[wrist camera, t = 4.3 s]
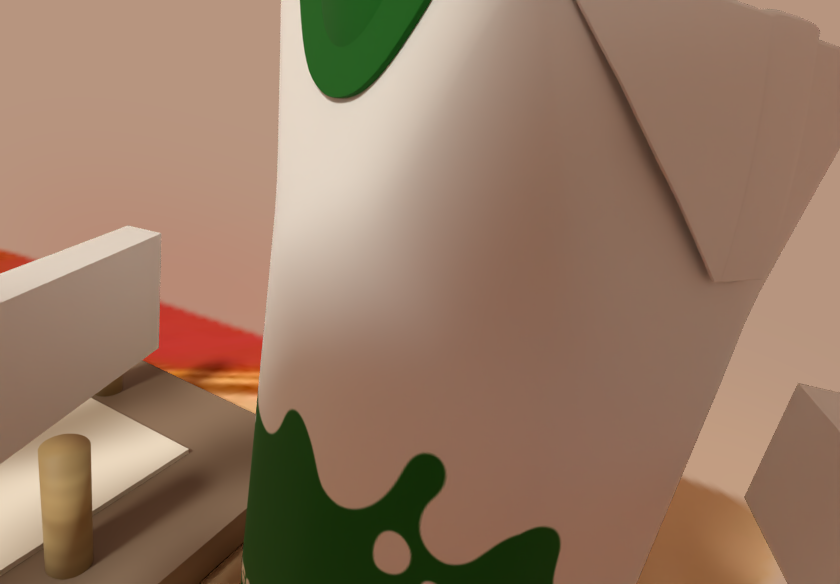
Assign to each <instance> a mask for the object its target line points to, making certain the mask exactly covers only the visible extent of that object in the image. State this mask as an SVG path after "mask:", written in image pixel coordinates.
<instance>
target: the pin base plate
mask: <svg viewBox="0 0 840 584" xmlns="http://www.w3.org/2000/svg"><path fill="white" fill-rule="evenodd" d="M255 418H256V414H254V413H252V412H250V411H247V410H245V409H243V408H241V407H239V406H237V405H235V404H233V403H231V402H228V401H226V400H224V399H222V398H220V397H218V396H216V395H214V394H212V393H210V392H207V391H205V390H203V389H201V388H199V387H197V386H195V385H193V384H191V383H189V382H186V381H184V380H182V379H180V378H178V377H176V376H174V375H172V374H170V373H168V372H165V371H163V370H161V369H159V368H157V367H155V366H153V365H151V364H149V363H147V362H144V361H142V360H141V361H140V362H139V363H137V364H136V365H135V366H133V367H132V368H130V369H129V370H128V371H126V372H125V373H124V374H122V375H121V376H120V377H118V378H117V379H115V380H114V381H113V382H111V383H110V384H109V385H107V386H106V387H105V388H103V389H102V390H101V391H99V392H98V393H96V394H95V395H94V396H92V397H91V398H90V399H88V400H87V401H86V402H84V403H83V404H81V405H80V406H79V407H77V408H76V409H75V410H73V411H72V412H71V413H69V414H68V415H66V416H65V417H64V418H62V419H61V420H60V421H58V422H57V423H56V424H54V425H53V426H52V427H50V428H49V429H47V430H46V431H45V432H43V433H42V434H41V435H39V436H38V437H37V438H35V439H34V440H32V441H31V442H30V443H28V444H27V445H26V446H24V447H23V448H22V449H20V450H19V451H18V452H16V453H15V454H13V455H12V456H11V457H9V458H8V459H7V460H5V461H4V462H3V463H1V464H0V584H198V583H200V582H201V581H202V580H203V579H204V578H205V577H206V576H207V575H208V574H209V573H210V572H212V571H213V570H214V569H215V568H216V567H217V566H218V565H219V564H220V563H221V562H223V561H224V560H225V559H226V558H227V557H228V556H229V555H230V554H231V553H232V552H233V551H235V550H236V549H237V548H238V547H239V546H240V545H241V544H242V543H243V542H244V533H245V523H246V512H247V501H248V491H249V481H250V470H251V460H252V449H253V439H254V429H255Z"/></svg>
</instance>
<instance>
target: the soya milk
mask: <svg viewBox="0 0 840 584" xmlns="http://www.w3.org/2000/svg"><path fill="white" fill-rule="evenodd" d="M280 31H281V33H280V34H281V35H280V85H279V129H278V166H277V189H276V207H275V218H274V229H273V241H272V251H271V262H270V272H269V283H268V293H267V304H266V314H265V324H264V335H263V345H262V356H261V366H260V377H259V387H258V398H257V408H256V418H255V429H254V439H253V449H252V460H251V470H250V481H249V491H248V501H247V512H246V523H245V533H244V544H243V555H242V571H241V584H637V581H638V579H639V576H640V574H641V572H642V569H643V567H644V565H645V562H646V560H647V557H648V555H649V553H650V550H651V548H652V545H653V543H654V541H655V538H656V536H657V533H658V531H659V529H660V526H661V524H662V522H663V519H664V517H665V514H666V512H667V510H668V507H669V505H670V502H671V500H672V498H673V495H674V493H675V491H676V488H677V486H678V483H679V481H680V479H681V476H682V474H683V472H684V469H685V467H686V464H687V462H688V459H689V457H690V455H691V452H692V450H693V448H694V445H695V443H696V441H697V438H698V435H699V433H700V431H701V428H702V426H703V424H704V421H705V419H706V417H707V414H708V412H709V410H710V407H711V405H712V402H713V400H714V398H715V395H716V393H717V391H718V388H719V386H720V383H721V381H722V378H723V376H724V373H725V371H726V369H727V366H728V363H729V361H730V359H731V356H732V354H733V351H734V349H735V346H736V344H737V341H738V339H739V336H740V334H741V331H742V329H743V326H744V324H745V322H746V320H747V317H748V315H749V313H750V311H751V309H752V307H753V305H754V303H755V301H756V298H757V296H758V294H759V292H760V290H761V288H762V286H763V285H764V283H765V281H766V279H767V278H768V276H769V273H770V272H771V270H772V268H773V267H774V265H775V263H776V261H777V259H778V257H779V256H780V254H781V252H782V250H783V248H784V247H785V245H786V243H787V241H788V240H789V238H790V236H791V234H792V232H793V231H794V229H795V227H796V225H797V223H798V222H799V220H800V218H801V216H802V214H803V213H804V211H805V209H806V207H807V206H808V204H809V202H810V200H811V198H812V197H813V195H814V193H815V191H816V189H817V188H818V186H819V184H820V182H821V180H822V179H823V177H824V175H825V173H826V172H827V170H828V168H829V166H830V165H831V163H832V161H833V159H834V158H835V156H836V154H837V152H838V151H839V149H840V47H839V46H835V45H833V44H830V43H827V42H824V41H822V40H819V34H820V30H819V28H818V27H817V26H816V25H815V24H814V23H812V22H810V21H808V20H805V19H803V18H800V17H798V16H795V15H792V14H789V13H786V12H783V11H780V10H773V9H759V8H756V7H753V6H750V5H748V4H745V3H742V2H740V1H737V0H281V30H280Z"/></svg>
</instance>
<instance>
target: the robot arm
mask: <svg viewBox="0 0 840 584" xmlns="http://www.w3.org/2000/svg"><path fill="white" fill-rule="evenodd" d="M160 268H161V233H158V232H153V231H149V230H145V229H140V228H136V227H132V226H126V227H123V228H120V229H118V230H115V231H112V232H110V233H107V234H105V235H102V236H99V237H97V238H94V239H91V240H88V241H86V242H83V243H81V244H78V245H76V246H73V247H70V248H67V249H65V250H62V251H60V252H57V253H54V254H51V255H49V256H46V257H43V258H41V259H38V260H35V261H33V262H30V263H28V264H25V265H22V266H20V267H17V268H14V269H12V270H9V271H6V272H4V273H1V274H0V464H1V463H3V462H4V461H5V460H7V459H8V458H9V457H11V456H12V455H13V454H15V453H16V452H18V451H19V450H20V449H22V448H23V447H24V446H26V445H27V444H28V443H30V442H31V441H32V440H34V439H35V438H37V437H38V436H39V435H41V434H42V433H43V432H45V431H46V430H47V429H49V428H50V427H52V426H53V425H54V424H56V423H57V422H58V421H60V420H61V419H62V418H64V417H65V416H66V415H68V414H69V413H71V412H72V411H73V410H75V409H76V408H77V407H79V406H80V405H81V404H83V403H84V402H86V401H87V400H88V399H90V398H91V397H92V396H94V395H95V394H96V393H98V392H99V391H101V390H102V389H103V388H105V387H106V386H107V385H109V384H110V383H111V382H113V381H114V380H115V379H117V378H118V377H120V376H121V375H122V374H124V373H125V372H126V371H128V370H129V369H130V368H132V367H133V366H135V365H136V364H137V363H139V362H140V361H141V360H143V359H144V358H145V357H147V356H148V355H149V354H151V353H152V352H154V351H155V350H156V349H158V348H159V310H160ZM745 500H746V502H747V504H748V506H749V508H750V510H751V512H752V514H753V516H754V518H755V520H756V522H757V524H758V526H759V528H760V530H761V532H762V534H763V536H764V538H765V540H766V542H767V544H768V546H769V548H770V550H771V552H772V554H773V556H774V558H775V560H776V562H777V564H778V566H779V568H780V570H781V572H782V574H783V576H784V578H785V580H786V582H787V584H840V393H838V392H833V391H830V390H825V389H821V388H817V387H812V386H808V385H804V384H800V383H798V385H797V387H796V389H795V391H794V393H793V395H792V397H791V399H790V401H789V404H788V406H787V408H786V410H785V412H784V414H783V417H782V419H781V421H780V423H779V425H778V427H777V429H776V431H775V433H774V435H773V438H772V440H771V442H770V444H769V446H768V448H767V450H766V452H765V455H764V457H763V459H762V461H761V463H760V465H759V467H758V470H757V471H756V474H755V476H754V478H753V480H752V482H751V484H750V486H749V488H748V491H747V493H746V495H745Z"/></svg>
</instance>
